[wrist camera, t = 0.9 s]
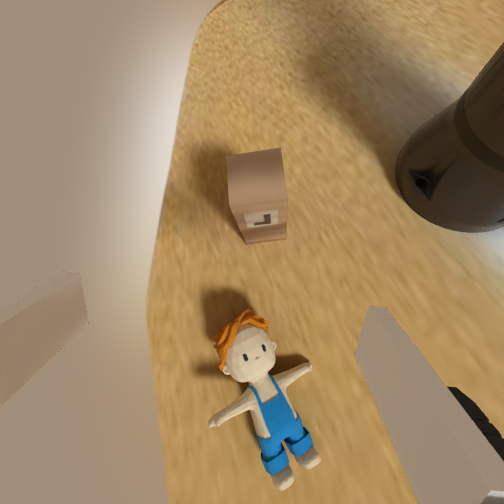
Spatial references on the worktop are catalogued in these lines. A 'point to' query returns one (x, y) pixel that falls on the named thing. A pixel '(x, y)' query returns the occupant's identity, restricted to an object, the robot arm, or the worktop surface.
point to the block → (258, 194)
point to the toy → (264, 396)
